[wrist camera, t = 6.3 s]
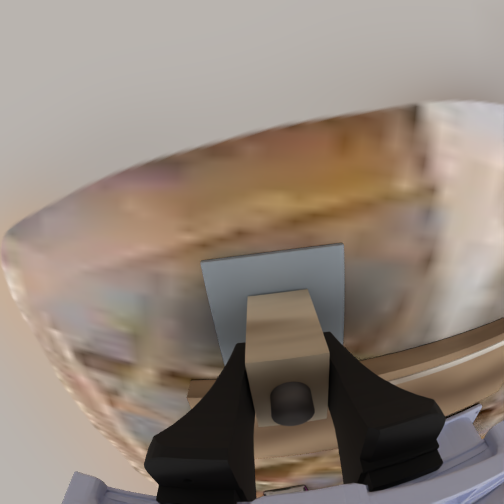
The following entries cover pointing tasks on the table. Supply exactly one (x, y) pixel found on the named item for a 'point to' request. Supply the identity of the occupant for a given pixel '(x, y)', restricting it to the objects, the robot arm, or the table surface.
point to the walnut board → (404, 376)
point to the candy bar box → (286, 490)
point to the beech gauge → (286, 359)
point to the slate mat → (274, 287)
